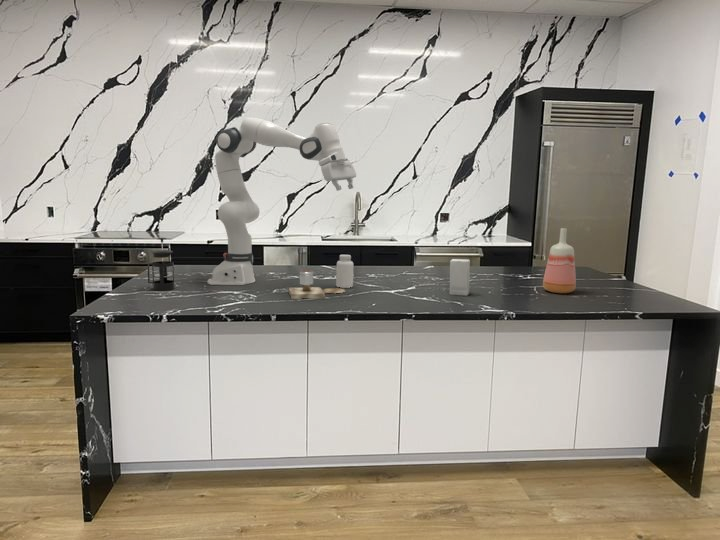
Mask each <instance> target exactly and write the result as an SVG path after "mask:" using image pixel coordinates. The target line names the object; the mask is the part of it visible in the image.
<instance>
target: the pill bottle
mask: <svg viewBox="0 0 720 540" xmlns="http://www.w3.org/2000/svg"><path fill="white" fill-rule="evenodd" d="M351 259H352V256H351V254H340V255H339V260H337V262H336V272H335V275H336V276H335V277H336V279H335V285H336V288H339V287H340V288H339V289H350V287H351V288H353V285H354V262H353V260H351Z"/></svg>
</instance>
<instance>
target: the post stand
mask: <svg viewBox="0 0 720 540" xmlns="http://www.w3.org/2000/svg"><path fill="white" fill-rule="evenodd" d="M288 293H289V296H290V299H291V300H302V298H310V299H325V298H326V293H324V292H323V289H322V288H321V287H320V286H314V287H313V286H311V285H302V287H288Z"/></svg>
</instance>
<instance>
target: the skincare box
mask: <svg viewBox="0 0 720 540" xmlns="http://www.w3.org/2000/svg"><path fill="white" fill-rule="evenodd" d="M470 269H471V259H466V258H465V259H463V258H462V259H461V258H452V259H450V261H449V295H450V294H451V295H452V296H468V295H469V294H470V273H471V270H470Z"/></svg>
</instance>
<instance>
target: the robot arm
mask: <svg viewBox="0 0 720 540" xmlns="http://www.w3.org/2000/svg"><path fill="white" fill-rule="evenodd" d="M215 141H216V145H217V147H218V149H219V150H218V151H217V152H216V153H215V155H214V161H215V170H216V174H217V178H218V181H219V187H220V190H221V191H222V193H223V194H224V195H225V196H226V197H227V198H228V201H227V202H224V203H223V204H220V206H219V207H218V209H217V216H218V219H219V220H220V222H221V223H222V224H223V226H224V228H225V232H226V236H227V252H224V253H223V254H222V255H223V261H222V262H221V263H220V264H218V265H217V266H215V268H213V270H212V274H211V278H209V279H207V284H208V285H210V286H211V285H213V286H243V285H248V284H252V283H255V282H256V279H255V275H254V274H255V273H254V270H253V268H254V267H253V264H254V255H253V251H252V250H253V249H252V247H253V245H252V244H253V243H252V242H253V240H252V239H253V238H252V236H251V234H250V233H249V232H248V228H247V224H249V223H252V222H254V221H256V220H257V219H258V218H259V216H260V208H259V205H258V204H257V203H256V202H254V200H253V198H252V197H251V195H250V193H249V192H248V189H247V188H246V185H245V182H244V177H243V173H242V169H241V165H240V158H245V157H246V156H247V155H249V154H250V153H253V151H254V150H255V149H256V147H257V144H259V145H262V146H265V147H274V148H291V149H295V150H298V151H299V154H300V155H301V157H302V158H303V159H305V160H310V161H316V162H317V161H318V165H319V166H320V170H321V173H322V176H323V179H324V181H326V182H331V183H332V185H333V186H334V188H335V190H336V191H337V192H338V191H341V190H342V186H341V185H340V184H339V181H345V180H346V181H347V182H348V184H347V187H348V189H349V190H351V189H354V183H353V181H354V180H353V179H354V178H356V177H357V173H356V170H355V167H354V165H353V163H352V162H351V161H350V160H349V159H348V158H347V157H346V155H345V152H344V150H343V147H342V146H341V144H340V138H339V135H338V131H336V129H335V126H334V125H333V124H332V123H328V122H325V123H324V122H323V123H319V124H317V125H316V126H315V127H314V129H313V131H312V132H311V133H310V134H309V135H308V136H307V137H305V136H302V135H299V134H295V133H293V132H292V131H289V130H287V129H286V128H284V127H282V126H280V125H278V124H276V123H275V122H273V121H272V122H271V121H269V120H266V119H263V118H260V117H255V116H253V117H252V116H247V117H245V118H244V119H243V120H242V122H241V124H240V126H239V127H238V128H237V127H235V126H232V127H230V128H227V129H224V130H221V131H220V132H219V133H218V134H217V135H216V140H215Z"/></svg>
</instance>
